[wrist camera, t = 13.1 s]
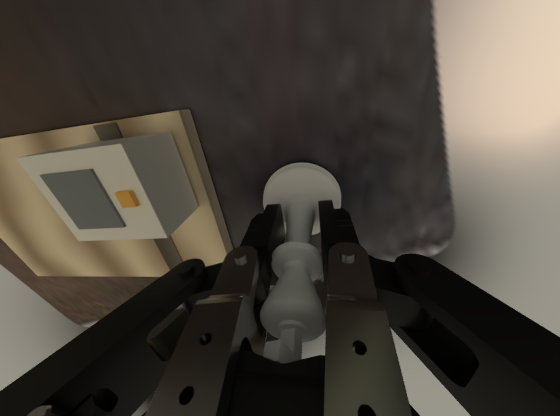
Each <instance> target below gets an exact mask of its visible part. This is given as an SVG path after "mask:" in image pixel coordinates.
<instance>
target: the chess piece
mask: <svg viewBox="0 0 560 416" xmlns="http://www.w3.org/2000/svg"><path fill="white" fill-rule="evenodd" d="M322 200H332V202H333V206H334V209H339V208H341V191H340V187H339V185H338V183H337V181H336V179H335V178H334V177H333V176H332V175H331V174H330V173H329V172H328V171H327V170H325V169H324V168H322V167H320V166H318V165H315V164H311V163H293V164H289V165H286V166H284V167H282V168H280V169H279V170H277V171H276V172H275V173H274V174H273V175H272V176H271V177H270V178H269V180H268V181H267V183H266V186H265V189H264V195H263V207H264V210H265V208H266V205H267V204H281V208H282V214H283V220H284V226H285V232H286V239H287V241H286V243H283V244H281V245H279V246H278V247H277V248H276V249H275V250H274V251H273V253H272V263H271V265H272V269H273V271H274V273H275V274H276V275H277V276H278V277H279V279H278V281H277V283H276V285H275V287H274V289H273V290H272V292H271V293H270V294H269V296H268V297H267V299H266V300H265V302H264V304H263V306H262V308H261V311H260V320H261V323H262V325H263V327H264V328H265V329H266V330H267V331H268V332H269V333H270V334H271V335H273V336H274V337H276V338H279V339H280V340H276V341H270V342H265V347H264V353H263V357H265V358H268V359H270V360H273V361H275V362H278V363H282V364H284V363H289V362H293V361H298V360H301V355H302V354H301V353H302V342H308V341H312V340H314V339H316V338H318V337H319V336H320V335H322V334H323V332H324V331H325V329H326V313H325V310H324V308H323V305H322V303H321V301H320V299H319V297H318V295H317V293H316V290H315V287H314V283H313V281H314V280H316V279H317V278H318V277H319V276H320V275H321V273H322V270H323V256H322V254H321V253H320V251H319V250H318V249H317V248H315V247H314V246H312V245H310V242H311V236H312V235H314V234H317V233H319V232H320V223H319V207H318V201H322Z"/></svg>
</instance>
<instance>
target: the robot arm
mask: <svg viewBox="0 0 560 416" xmlns="http://www.w3.org/2000/svg"><path fill="white" fill-rule="evenodd" d="M318 207H319V223H320V237H321V249H322V256H323V274H324V285H328V296H327V303H326V304H327V305H326V346H325V350H326V351H325V356H323V355H319V356H315V357H310V358H306V359H302V360H298V361H293V362H289V363H284V364H282V363H278V362H275V361H273V360H270V359H268V358H265V357H263V353H264V347H265V342H266V332H267V330H266V329H265V328H264V327H263V325H262V323H261V320H260V311H261V308H262V306H263V304H264V302H265V300H266V299H267V297H268V296H269V294H268V293H269V288H270V285H276V283H277V281H278V276H277V275H276V274H275V273H274V271H273V269H272V265H271V263H272V253H273V251H274V250H275V249H276V248H277V247H278V246H279V245H281V244H283V243H284V240H285V226H284V220H283V214H282V208H281V204H267V205H266V208H265V210H264V213H262V214H257V215H256V216H255V217H254V218H253V219H252V221H251V223H250V226H249V227H248V230H247V232H246V234H245V236H244V238H243V241H242V243H241V245H240V247H237V248H235V249H233V250H231V251H230V252H229V253H228V254H227V255H226V256H225V258H224V261H223V262H221V263H218V264H214V265H210V266H205V264H204V262H203V261H202V260H201V259H198V258H194V259H189V260H186V261H183V262H181V263H180V264H178V265H177V266H175V267H174V268H173V269H171V270H170V271H168V272H167V273H166V274H164V275H163V276H161V277H160V278H158V279H157V280H156V281H154V282H153V283H151V284H150V285H149V286H147V287H146V288H144V289H143V290H142V291H140V292H139V293H137V294H136V295H135V296H133V297H132V298H130V299H129V300H128V301H126V302H125V303H123V304H122V305H121V306H119V307H118V308H116V309H115V310H114V311H112V312H111V313H109V314H108V315H107V316H105V317H104V318H102V319H101V320H100V321H98V322H97V323H95V324H94V325H92V326H91V327H90V328H88V329H87V330H86V331H84V332H83V333H81V334H80V335H78V336H77V337H76V338H74V339H73V340H72V341H70V342H69V343H67V344H66V345H64V346H63V347H62V348H60V349H59V350H57V351H56V352H55V353H53V354H52V355H50V356H49V357H48V358H46V359H45V360H43V361H42V362H41V363H39V364H38V365H36V366H35V367H34V368H32V369H31V370H29V371H28V372H27V373H25V374H24V375H23V376H21V377H20V378H18V379H17V380H15V381H14V382H12V383H11V384H10V385H8V386H7V387H5V388H4V389H3V390H1V391H0V416H131V415H132V414H133V413H134V412H135V411H136V410H137V409H138V408H139V407H140V406H141V404H142V403H143V402H144V401H145V400H146V399H147V398H148V397H149V396H150V395H151V394H152V393H153V391H154V390H155V389H156V388H157V387H158V388H157V390H156V392H155V394H154V397H153V399H152V401H151V403H150V406H149V408H148V410H147V411H146V412H145V413H144V414H143V415H142V416H420V415H419V414H418V413H417V412H416V411H415V410H414V408H413V407H412V406H411V405H410V404H409V401H408V397H407V393H406V389H405V385H404V381H403V377H402V373H401V369H400V365H399V361H398V357H397V353H396V349H395V344H394V340H393V336H392V332H391V328H392V330H393V331H394V332H395V333H396V334H397V335H398V336H399V337H400V338H401V339H402V340H403V342H404V343H405V344H406V345H407V346H408V347H409V348H410V349H411V350H412V351H413V353H414V354H415V355H416V356H417V357H418V358H419V359H420V360H421V361H422V362H423V363H424V365H425V366H426V367H427V368H428V369H429V370H430V371H431V372H432V373H433V375H434V376H435V377H436V378H437V379H438V380H439V381H440V382H441V383H442V384H443V385H444V386H445V388H446V389H447V390H448V391H449V392H450V393H451V394H452V395H453V396H454V398H455V399H456V400H457V401H458V402H459V403H460V404H461V405H462V406H463V407H464V408H465V410H466V411H467V412H468V413H469V414H470V415H471V416H560V337H558V336H557V335H555V334H554V333H552V332H550V331H549V330H547V329H545V328H544V327H542V326H540V325H539V324H537V323H536V322H534V321H532V320H531V319H529V318H528V317H526V316H524V315H522V314H521V313H519V312H518V311H516V310H515V309H513V308H511V307H509V306H508V305H506V304H505V303H503V302H501V301H500V300H498V299H497V298H495V297H493V296H492V295H490V294H489V293H487V292H485V291H484V290H482V289H480V288H479V287H477V286H475V285H474V284H472V283H471V282H469V281H467V280H466V279H464V278H462V277H461V276H459V275H457V274H456V273H454V272H453V271H451V270H449V269H448V268H446V267H445V266H443V265H441V264H440V263H438V262H436V261H435V260H433V259H431V258H429V257H426V256H423V255H419V254H404V255H401V256H399V257H398V258H397V259H396V260H395V262H390V261H385V260H380V259H377V258H374V257H372V256H370V255H368V253H367V251H366V250H365V249H364V248H363V247H362V246H360V244H359V241H358V238H357V235H356V232H355V229H354V226H353V223H352V221H351V217H350V214H349V213H348V212H347V211H346V210H345V209H343V208H339V209H334V206H333V202H332V200H322V201H318ZM181 304H182V305H183V307H184V308H185V311H184V312H183V313H182V314H181V315H179V316H178V317H177V318H176V319H175V320H174V321H173V322H172V323H171V324H170V325H168V326H167V327H166V328H165V329H164V330H163V331H162V332H161V333H160V334H159V335H157V336H156V337H155V338H153V339H150V340H146V339H147V336H148V334H149V332H150V331H151V330H152V329H153V328H154V327H155V326H156V325H158V324H159V323H160V322H161V321H162V320H163V319H164V318H166V317H167V316H168V315H169V314H170V313H171V312H173V311H174V310H175V309H176V308H177V307H178V306H179V305H181ZM390 327H391V328H390Z"/></svg>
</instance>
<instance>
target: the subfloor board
mask: <svg viewBox="0 0 560 416" xmlns="http://www.w3.org/2000/svg"><path fill="white" fill-rule="evenodd" d="M163 132H171V134H172V136H173V139H174V142H175V145H176V147H177V150H178V153H179V155H180V158H181V161H182V163H183V166H184V169H185V172H186V174H187V177H188V180H189V182H190V185H191V188H192V191H193V193H194V196H195V199H196V201H197V204H198V208H197V209H196V210H195V211H194V212H193V213H192V214H191V215H190V216H189V217H188V218H187V219H186V220H185V221H184V222H183V223H182V224H181V225H180V226H179V227H178V228H177V229H176V230H175V231H174V232H173V233H172V234H171V235H170V236H169V237H168V238H157V239H127V240H98V241H78V240H77V238H76V237H75V236H74V234H73V233H72V232H71V231H70V229H69V228H68V227H67V225H66V224H65V223H64V221H63V220H62V219H61V217H60V216H59V215H58V213H57V212H56V211H55V209H54V208H53V207H52V205H51V204H50V203H49V202H48V200H47V199H46V198H45V196H44V195H43V194H42V192H41V191H40V190H39V188H38V187H37V186H36V184H35V183H34V182H33V180H32V179H31V178H30V176H29V175H28V174H27V173H26V171H25V170H24V169H23V167H22V166H21V165H20V163H19V162H18V161H17V159H16V158H17V157H22V156H27V155H32V154H37V153H41V152H46V151H51V150H56V149H61V148H66V147H71V146H76V145H80V144H85V143H92V142H99V141H106V140H113V139H120V138H128V137H135V136H142V135H149V134H156V133H163ZM0 238H1V239H2V240H3V241H4V242H5V243H6V244H7V245H8V246H9V247H10V248H11V249H12V250H13V251H14V252H15V253H16V254H17V255H18V256H19V257H20V258H21V259H22V260H23V261H24V262H25V263H26V264H27V266H28V267H29V268H30V269H31V270H32V271H33V272H34V273H35V274H36V275H37V276H139V277H161V276H163V275H164V274H166V273H167V272H168V271H170V270H171V269H173V268H174V267H175V266H177V265H178V264H180V263H181V262H183V261H186V260H189V259H194V258H198V259H201V260H202V261H203V262H204V264H205V266H210V265H214V264H218V263H221V262H223V261H224V258H225V256H226V255H227V254H228V253H229V252H230V251H231V250H233V246H232V243H231V240H230V237H229V234H228V230H227V227H226V224H225V221H224V218H223V214H222V211H221V208H220V205H219V202H218V198H217V195H216V192H215V189H214V186H213V182H212V179H211V176H210V173H209V170H208V166H207V163H206V160H205V157H204V153H203V150H202V147H201V144H200V141H199V137H198V134H197V131H196V128H195V125H194V121H193V118H192V115H191V112H190V109H186V110H177V111H171V112H164V113H158V114H152V115H146V116H139V117H133V118H127V119H121V120H114V121H108V122H102V123H95V124H89V125H83V126H77V127H70V128H64V129H58V130H52V131H45V132H39V133H33V134H27V135H20V136H14V137H8V138H2V139H0Z"/></svg>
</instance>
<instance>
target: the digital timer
mask: <svg viewBox="0 0 560 416" xmlns="http://www.w3.org/2000/svg"><path fill="white" fill-rule="evenodd" d="M16 159H17V161H18V162H19V163H20V165H21V166H22V167H23V169H24V170H25V171H26V173H27V174H28V175H29V176H30V178H31V179H32V180H33V182H34V183H35V184H36V186H37V187H38V188H39V190H40V191H41V192H42V194H43V195H44V196H45V198H46V199H47V200H48V202H49V203H50V204H51V205H52V207H53V208H54V209H55V211H56V212H57V213H58V215H59V216H60V217H61V219H62V220H63V221H64V223H65V224H66V225H67V227H68V228H69V229H70V231H71V232H72V233H73V234H74V236H75V237H76V238H77V240H78V241H98V240H127V239H157V238H168V237H169V236H170V235H171V234H172V233H173V232H174V231H175V230H176V229H177V228H178V227H179V226H180V225H181V224H182V223H183V222H184V221H185V220H186V219H187V218H188V217H189V216H190V215H191V214H192V213H193V212H194V211H195V210H196V209H197V208H198V204H197V201H196V199H195V196H194V193H193V191H192V188H191V185H190V182H189V180H188V177H187V174H186V172H185V169H184V166H183V163H182V161H181V158H180V155H179V153H178V150H177V147H176V145H175V142H174V139H173V136H172V134H171V132H163V133H156V134H149V135H142V136H135V137H128V138H120V139H113V140H106V141H99V142H92V143H85V144H80V145H76V146H71V147H66V148H61V149H56V150H51V151H46V152H41V153H37V154H32V155H27V156H22V157H17V158H16Z"/></svg>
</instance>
